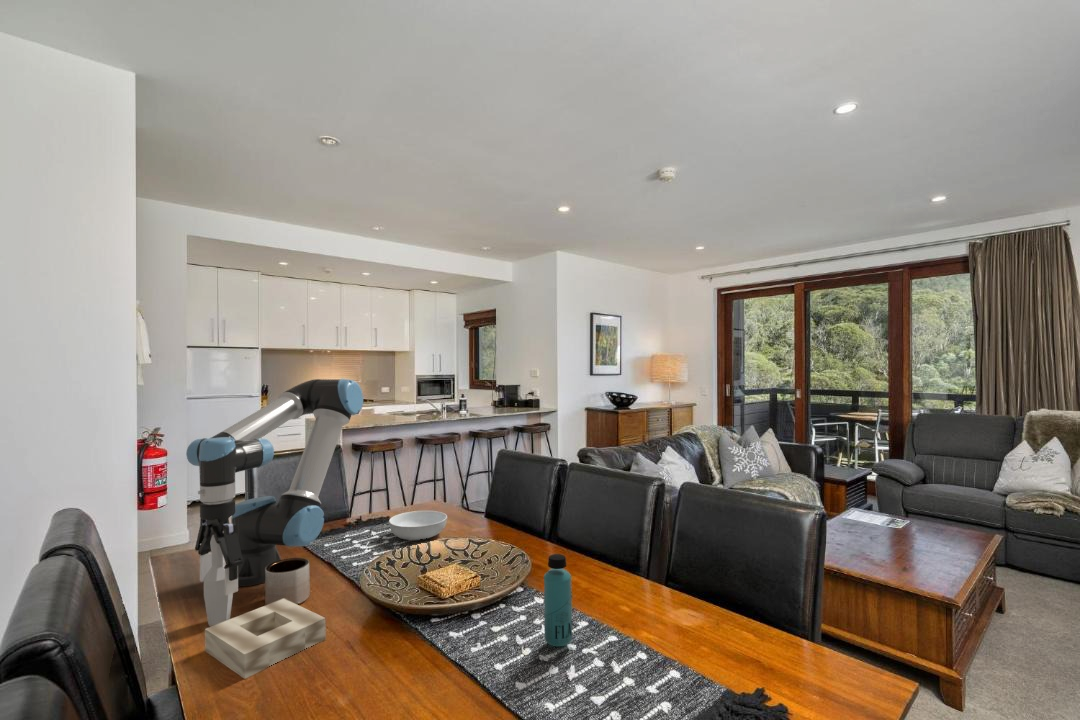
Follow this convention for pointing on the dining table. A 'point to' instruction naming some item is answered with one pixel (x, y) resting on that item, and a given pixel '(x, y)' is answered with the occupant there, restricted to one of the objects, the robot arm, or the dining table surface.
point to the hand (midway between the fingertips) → (218, 586)
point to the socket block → (264, 636)
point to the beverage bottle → (557, 602)
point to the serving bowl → (417, 524)
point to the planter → (287, 581)
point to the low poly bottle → (216, 588)
